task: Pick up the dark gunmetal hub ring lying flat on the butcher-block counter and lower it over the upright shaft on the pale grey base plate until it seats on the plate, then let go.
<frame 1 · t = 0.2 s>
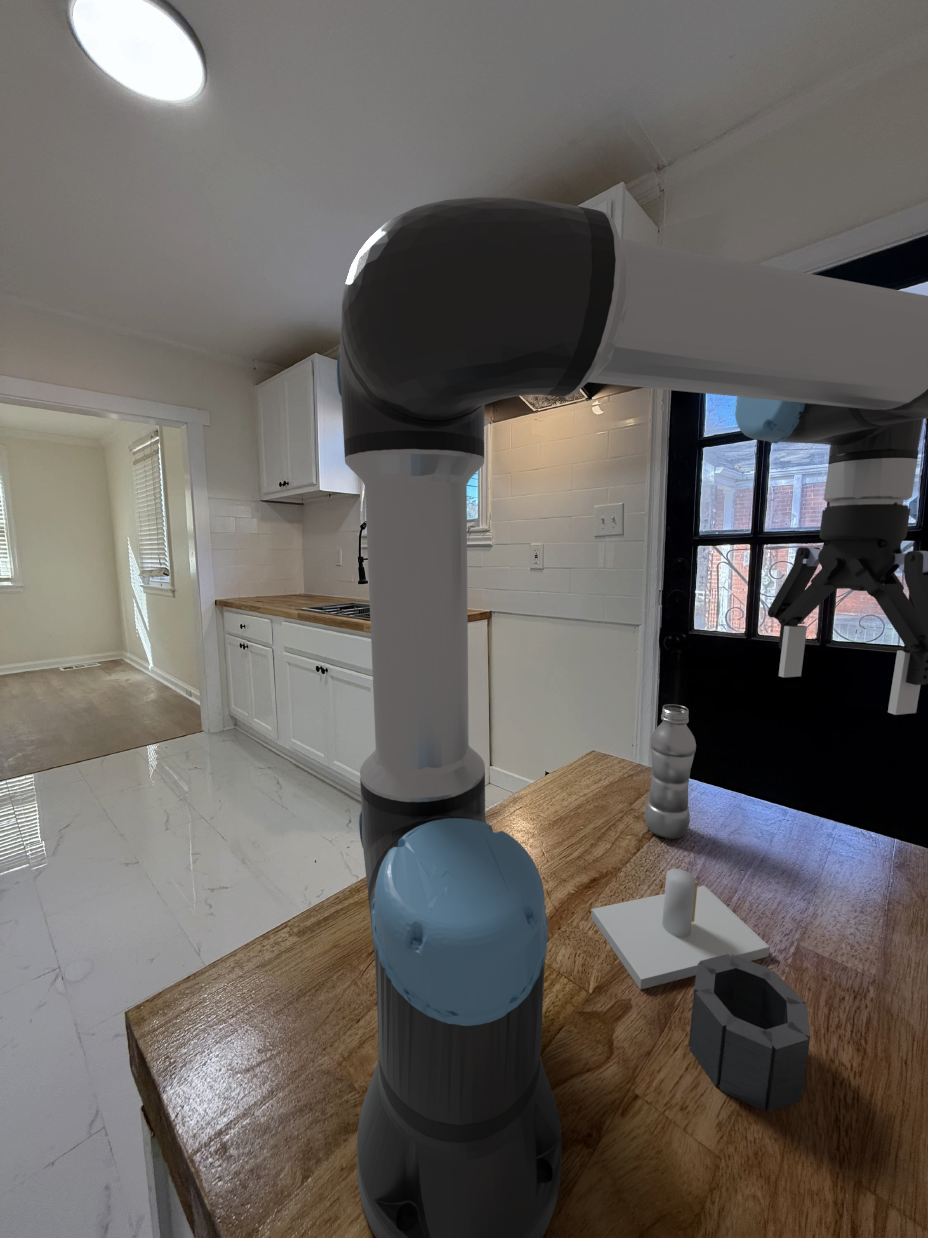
hand: (839, 692, 58), 28 cm above the worktop, fingers open, 13 cm apart
plastic bottle: (665, 833, 78), on the worktop
shaft stand: (675, 936, 58), on the worktop
hub: (742, 1055, 45), on the worktop
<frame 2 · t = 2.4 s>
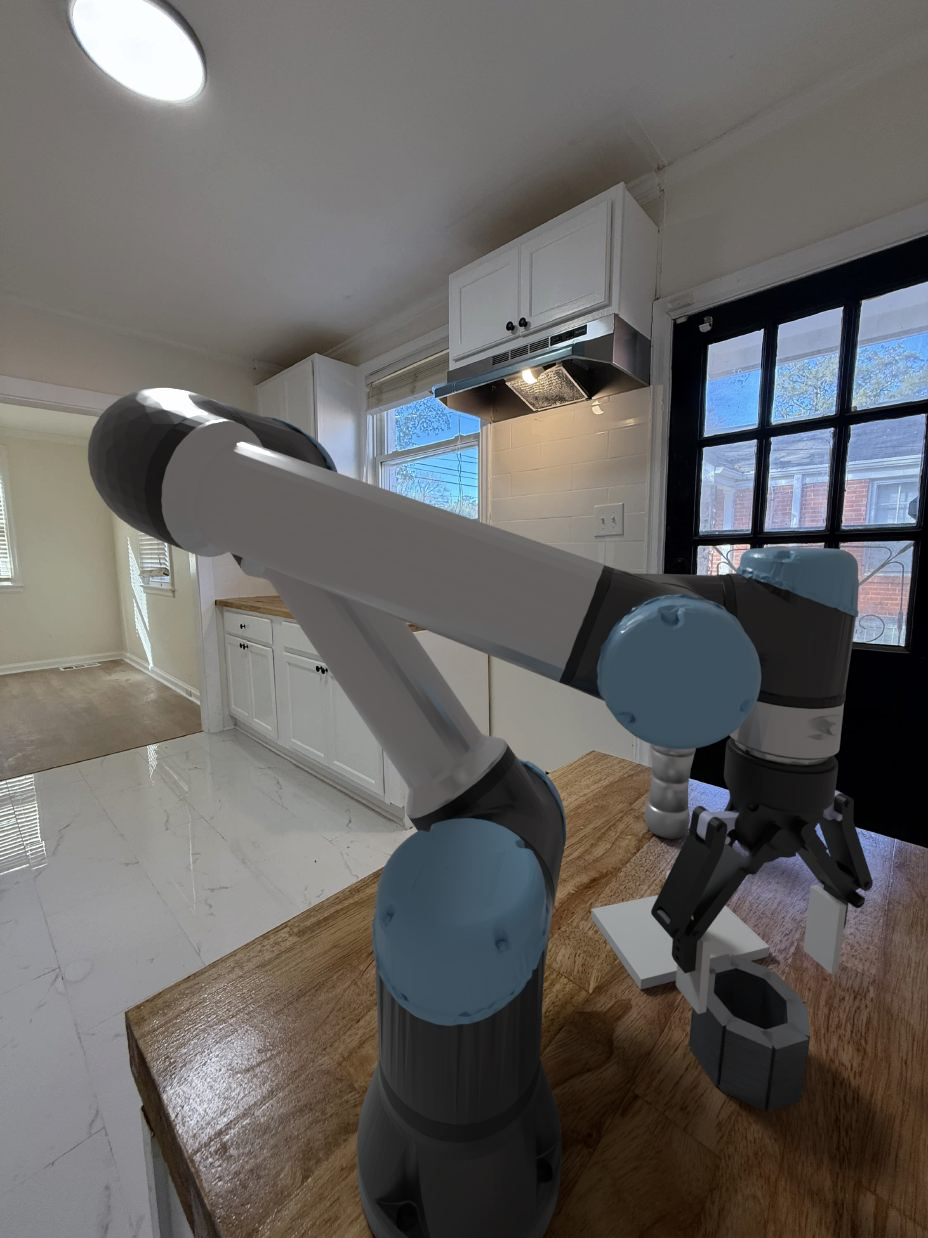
hand: (757, 979, 43), 8 cm above the worktop, fingers open, 13 cm apart
nothing on the worktop moved.
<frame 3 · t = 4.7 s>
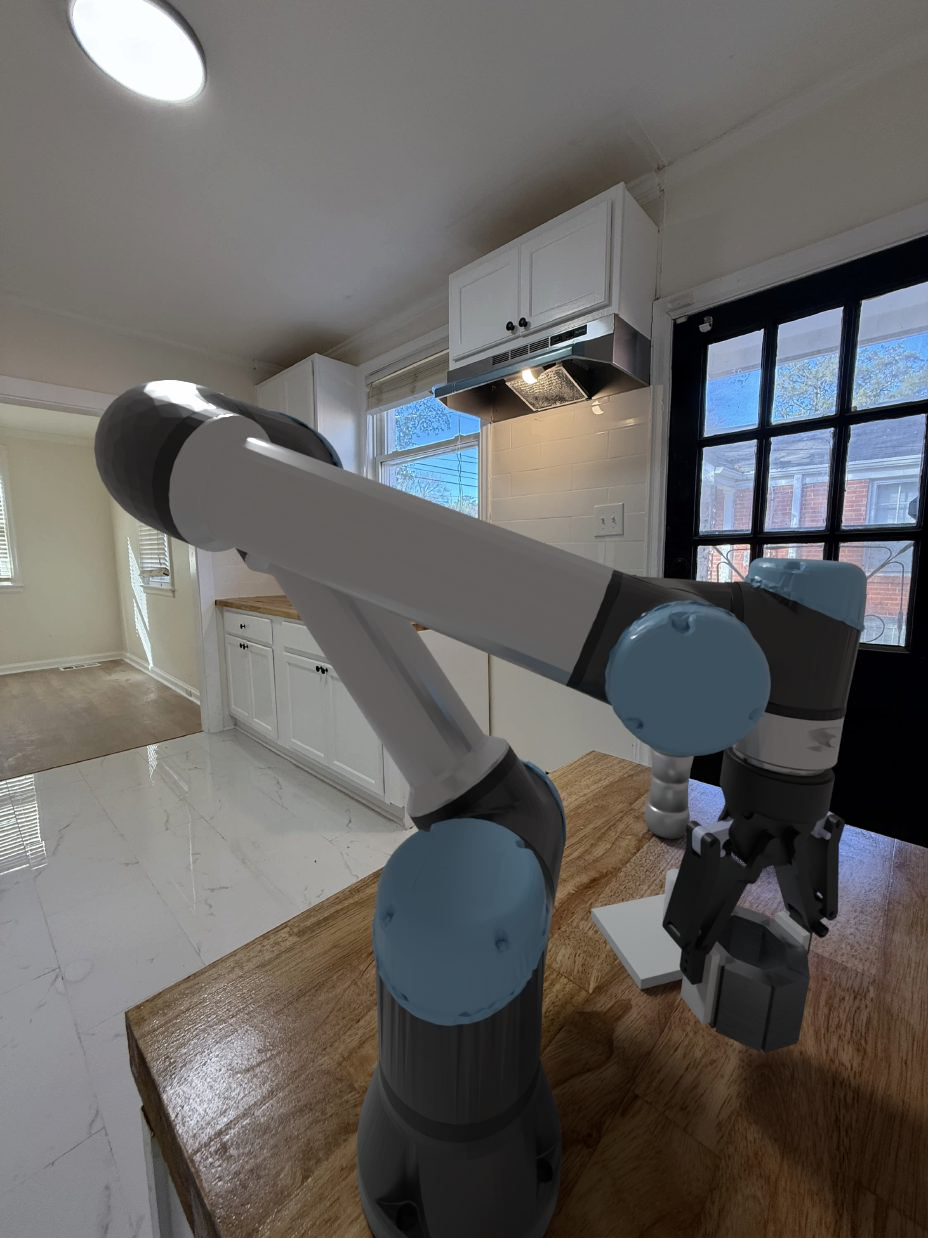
hand: (739, 997, 44), 6 cm above the worktop, fingers closed on hub, 8 cm apart
hub: (739, 1000, 44), point 5 cm above the worktop, touching gripper
everything else where it was.
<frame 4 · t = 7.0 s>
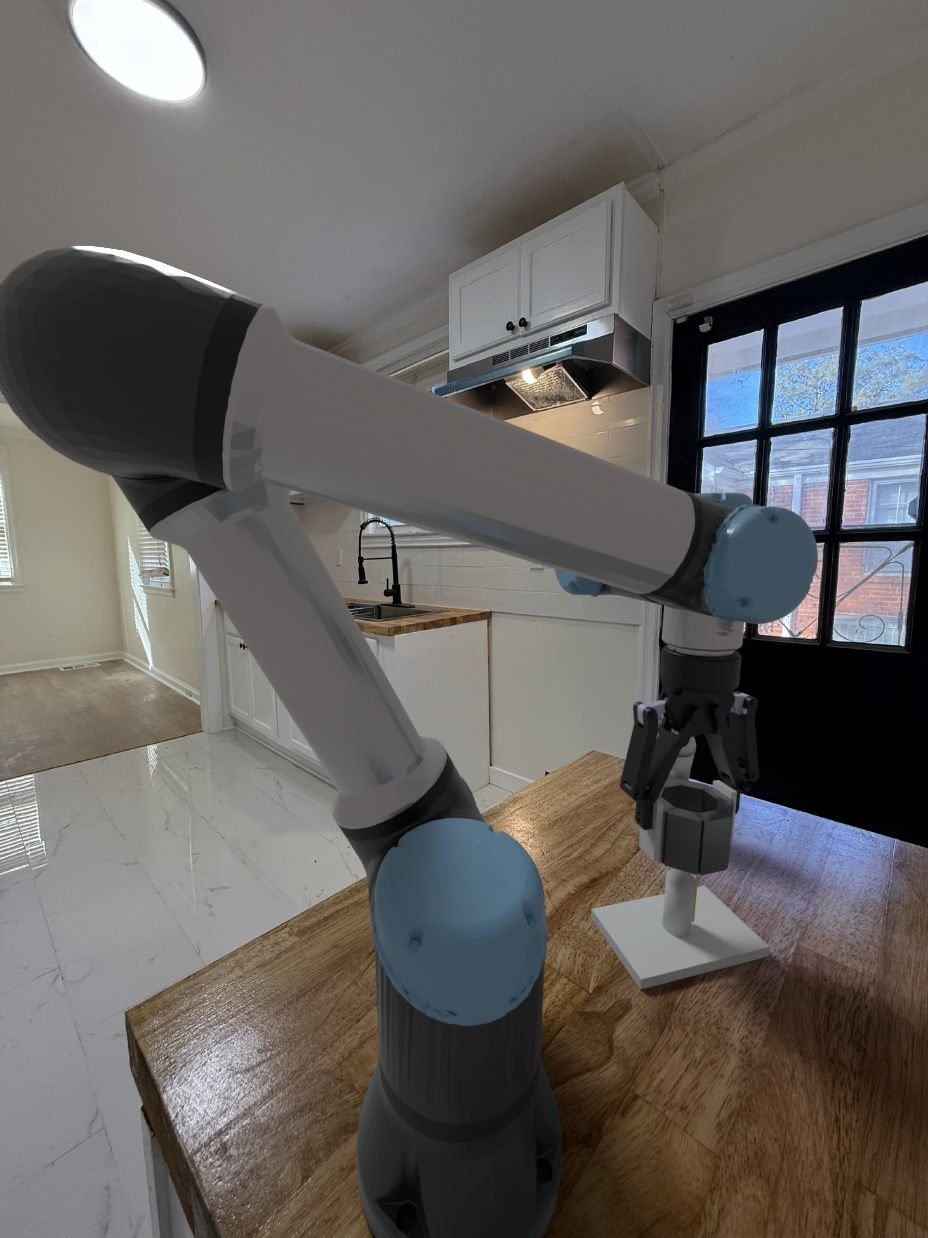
hand: (685, 846, 56), 11 cm above the worktop, fingers closed on hub, 8 cm apart
hub: (685, 848, 56), point 11 cm above the worktop, touching gripper
everything else where it was.
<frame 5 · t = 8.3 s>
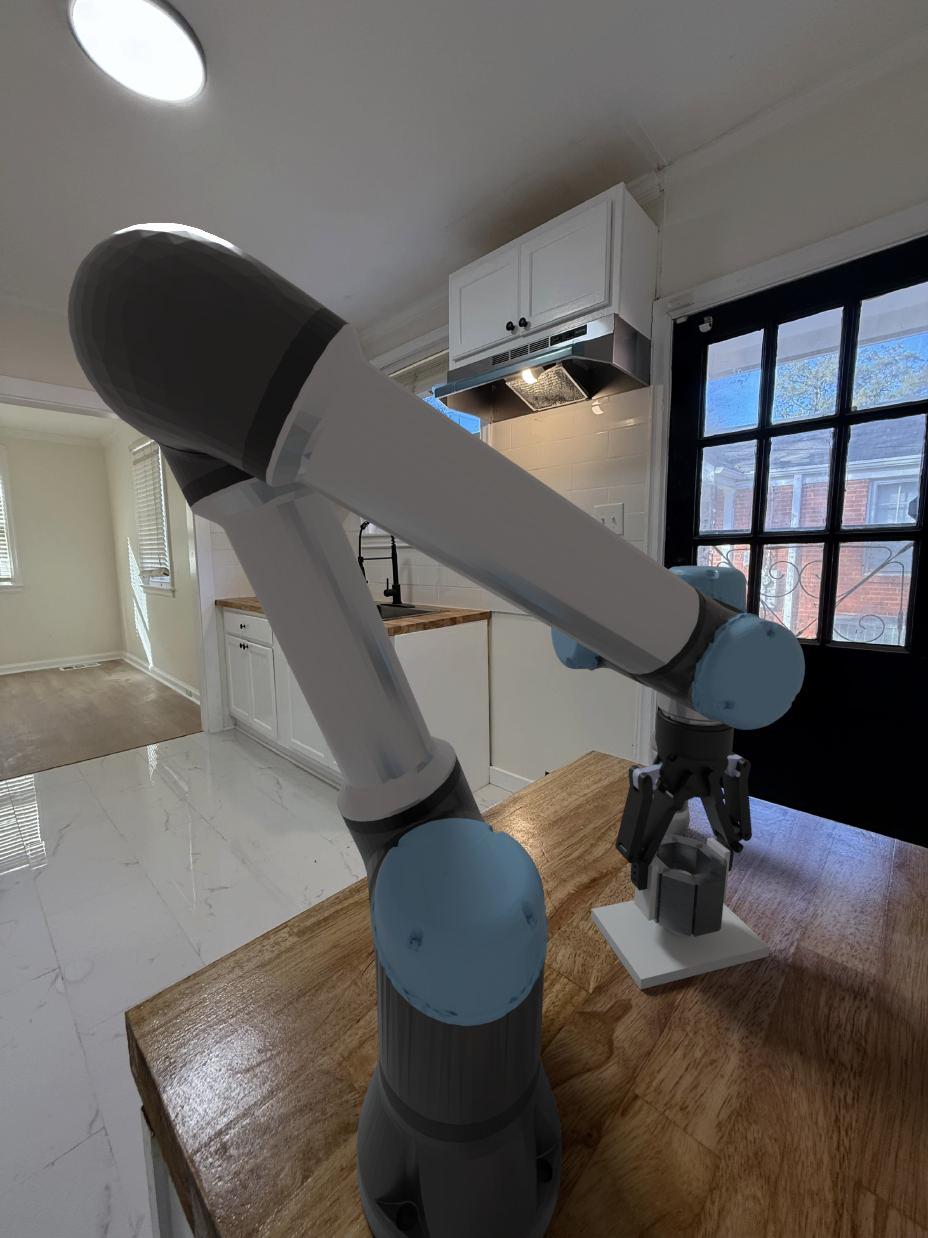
hand: (679, 903, 57), 4 cm above the worktop, fingers closed on hub, 8 cm apart
hub: (680, 905, 57), point 4 cm above the worktop, touching gripper
everything else where it was.
when the fingers open (2 cm above the worktop, at t = 9.2 s): hub stays where it is, resting on shaft stand.
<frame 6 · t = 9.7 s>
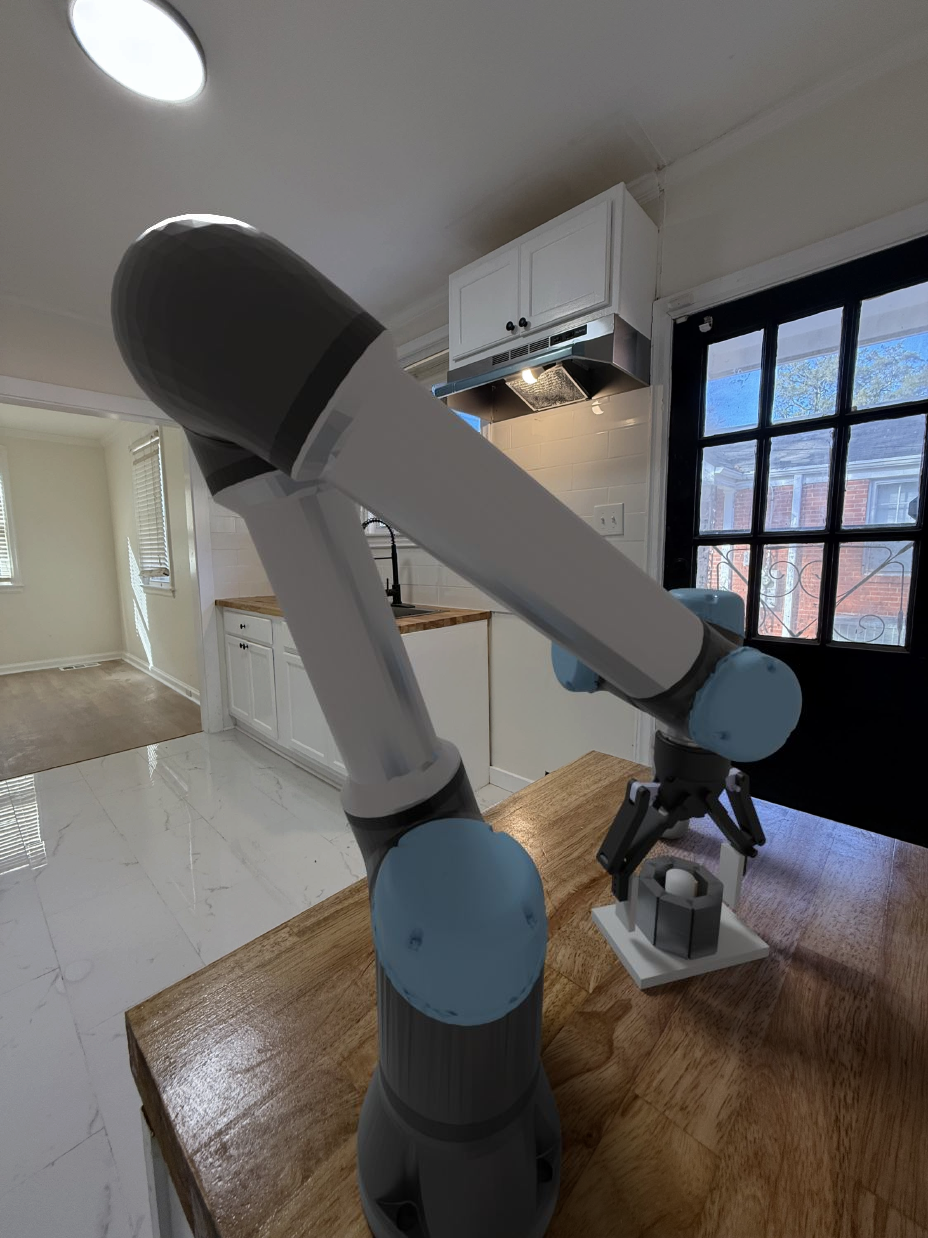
hand: (677, 911, 57), 3 cm above the worktop, fingers open, 13 cm apart
hub: (676, 927, 58), point 1 cm above the worktop, touching shaft stand
everything else where it was.
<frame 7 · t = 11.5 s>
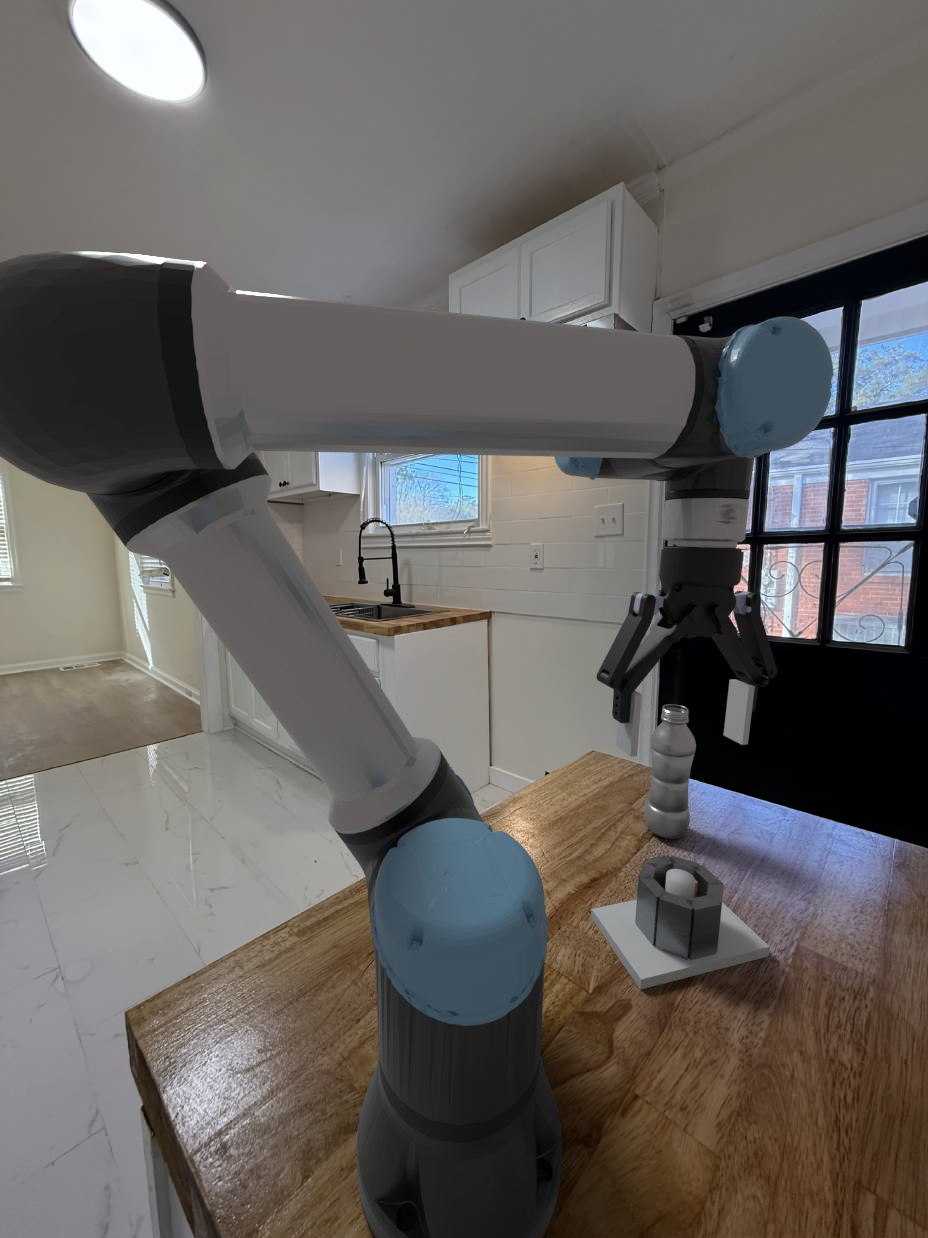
hand: (682, 745, 54), 23 cm above the worktop, fingers open, 13 cm apart
nothing on the worktop moved.
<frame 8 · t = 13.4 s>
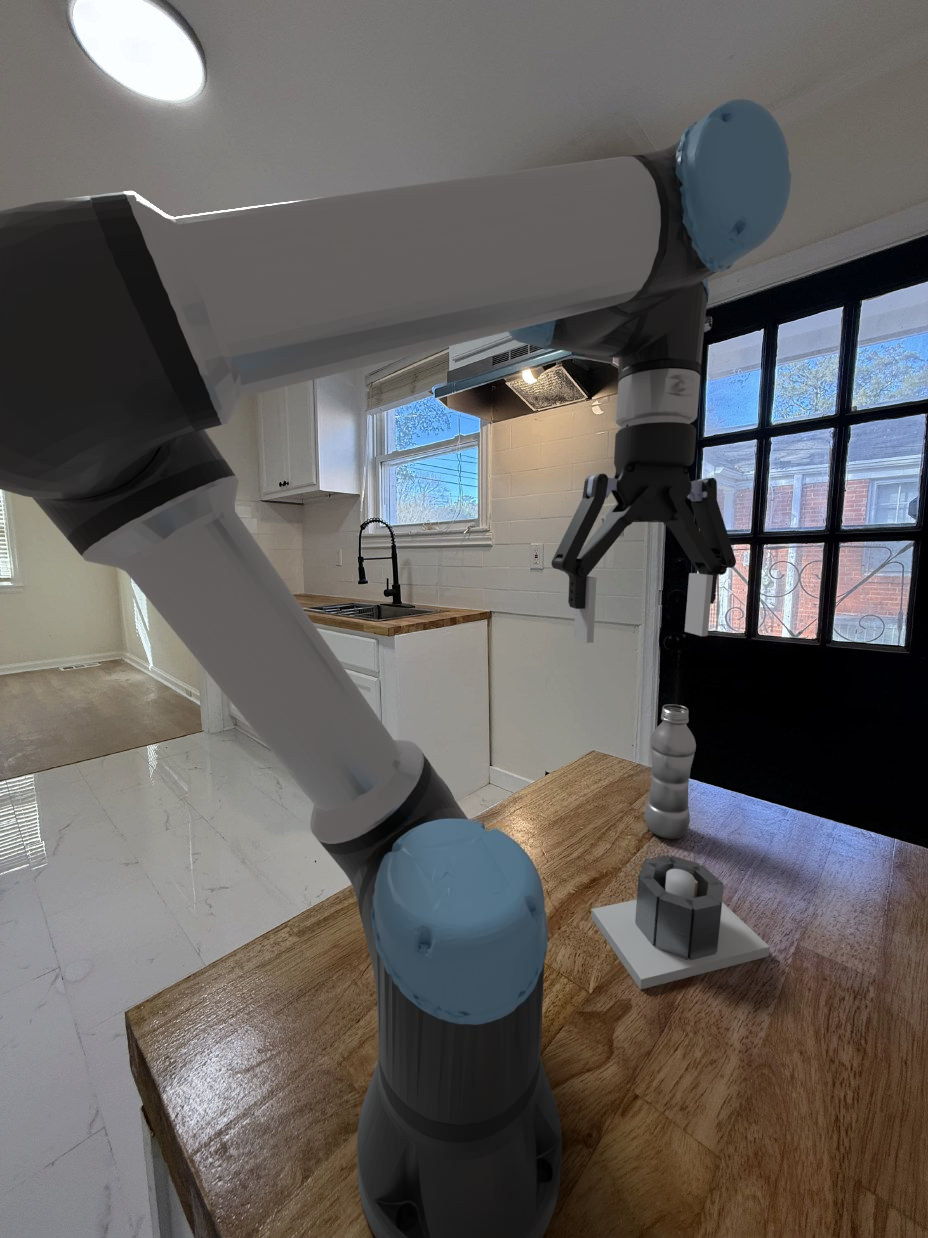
hand: (641, 637, 54), 35 cm above the worktop, fingers open, 13 cm apart
nothing on the worktop moved.
at the end: hub 0.1 cm off-centre on the shaft stand, point 1.2 cm above the shaft stand's base; hub tilted 0°; the gripper is holding nothing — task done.
